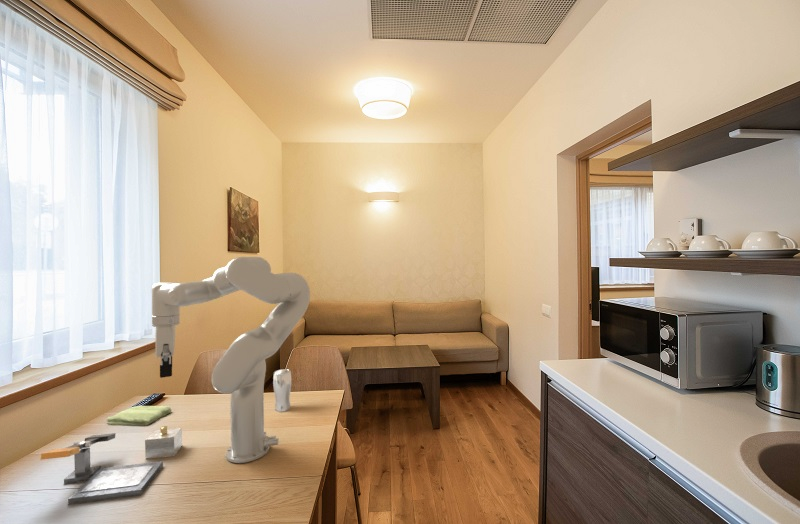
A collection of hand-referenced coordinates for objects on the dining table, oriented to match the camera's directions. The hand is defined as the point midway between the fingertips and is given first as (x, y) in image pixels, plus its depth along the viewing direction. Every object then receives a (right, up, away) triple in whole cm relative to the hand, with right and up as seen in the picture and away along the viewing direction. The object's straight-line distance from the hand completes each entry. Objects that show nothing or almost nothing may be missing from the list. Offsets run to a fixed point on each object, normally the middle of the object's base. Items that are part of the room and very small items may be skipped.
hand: (166, 372), depth 117 cm
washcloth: (-23, -24, +20) cm, 39 cm away
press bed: (-3, -24, -20) cm, 31 cm away
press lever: (-13, -15, -17) cm, 26 cm away
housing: (+2, -24, -4) cm, 24 cm away
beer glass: (+29, -23, +27) cm, 46 cm away
